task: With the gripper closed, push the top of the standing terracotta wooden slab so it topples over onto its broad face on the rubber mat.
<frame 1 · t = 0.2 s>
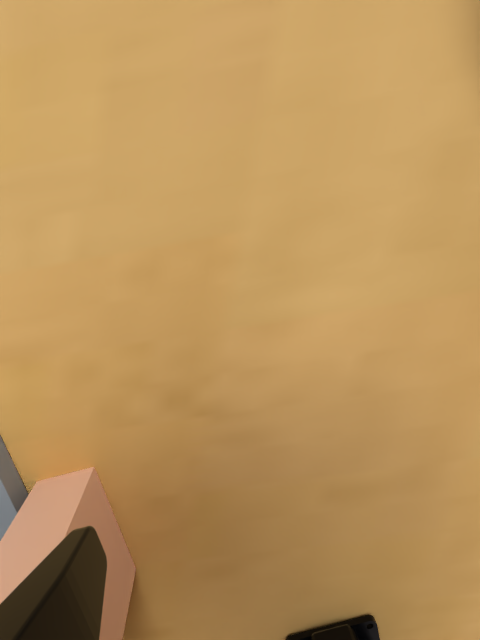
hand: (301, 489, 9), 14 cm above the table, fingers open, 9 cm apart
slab: (88, 526, 25), on the table
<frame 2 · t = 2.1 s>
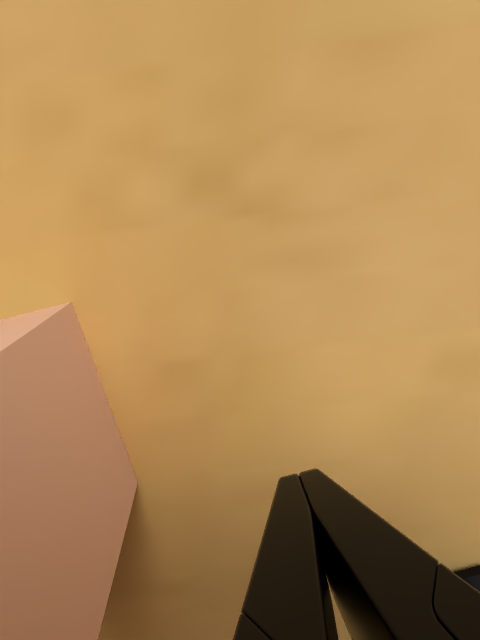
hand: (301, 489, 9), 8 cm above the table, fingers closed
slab: (63, 409, 16), on the table
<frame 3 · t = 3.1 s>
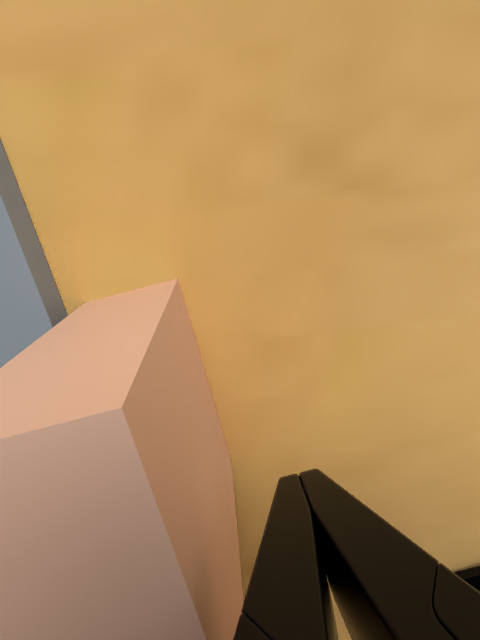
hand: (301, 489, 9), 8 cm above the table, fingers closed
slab: (163, 387, 16), on the table
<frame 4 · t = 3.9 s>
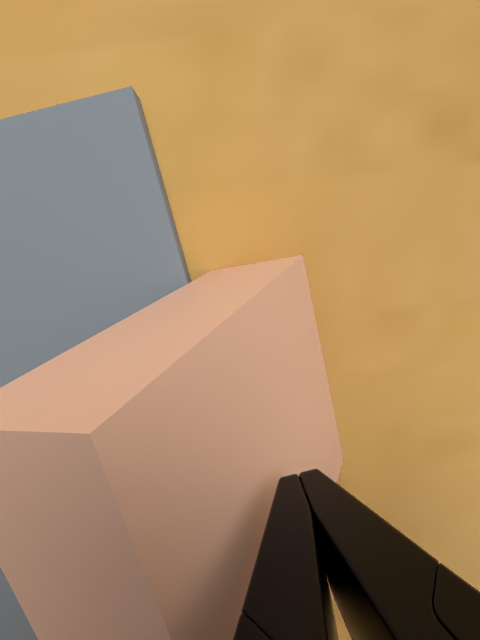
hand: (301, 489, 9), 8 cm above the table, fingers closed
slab: (278, 366, 15), point 1 cm above the table, tilted 28°, touching mat
mat: (38, 420, 16), on the table
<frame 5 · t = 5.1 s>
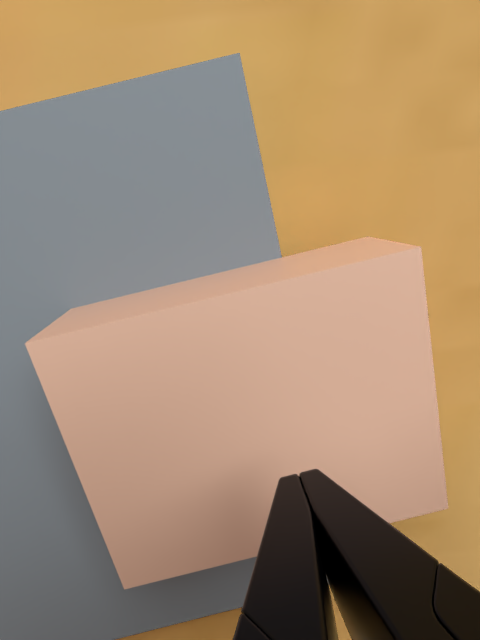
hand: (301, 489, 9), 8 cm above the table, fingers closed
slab: (406, 366, 13), point 3 cm above the table, tilted 90°, touching mat
mat: (114, 397, 16), on the table
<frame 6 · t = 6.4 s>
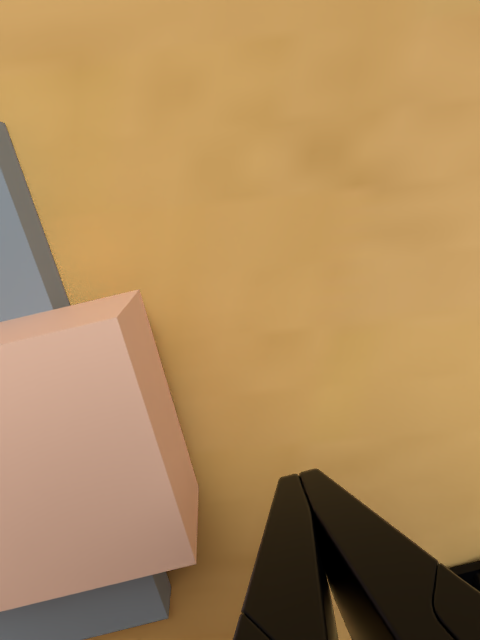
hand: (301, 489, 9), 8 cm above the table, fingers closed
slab: (166, 420, 13), point 3 cm above the table, tilted 90°, touching mat
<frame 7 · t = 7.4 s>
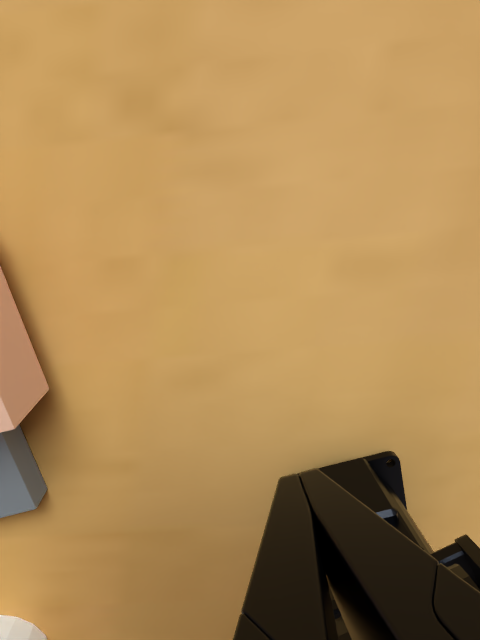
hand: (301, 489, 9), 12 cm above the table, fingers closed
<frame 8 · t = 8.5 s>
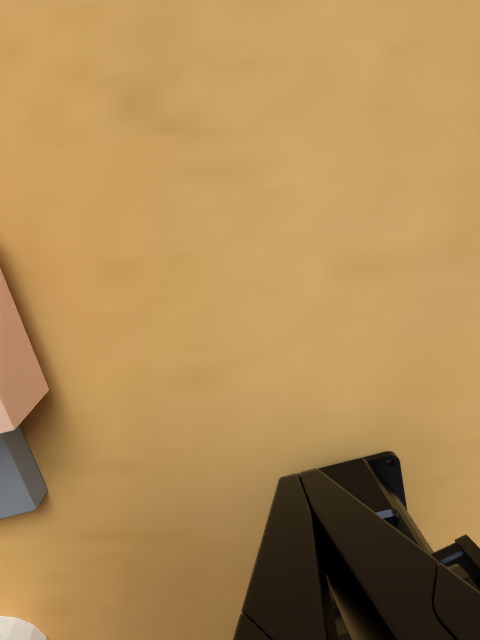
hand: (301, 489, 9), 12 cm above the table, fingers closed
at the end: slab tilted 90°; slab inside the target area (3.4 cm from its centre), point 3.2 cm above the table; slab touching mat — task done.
